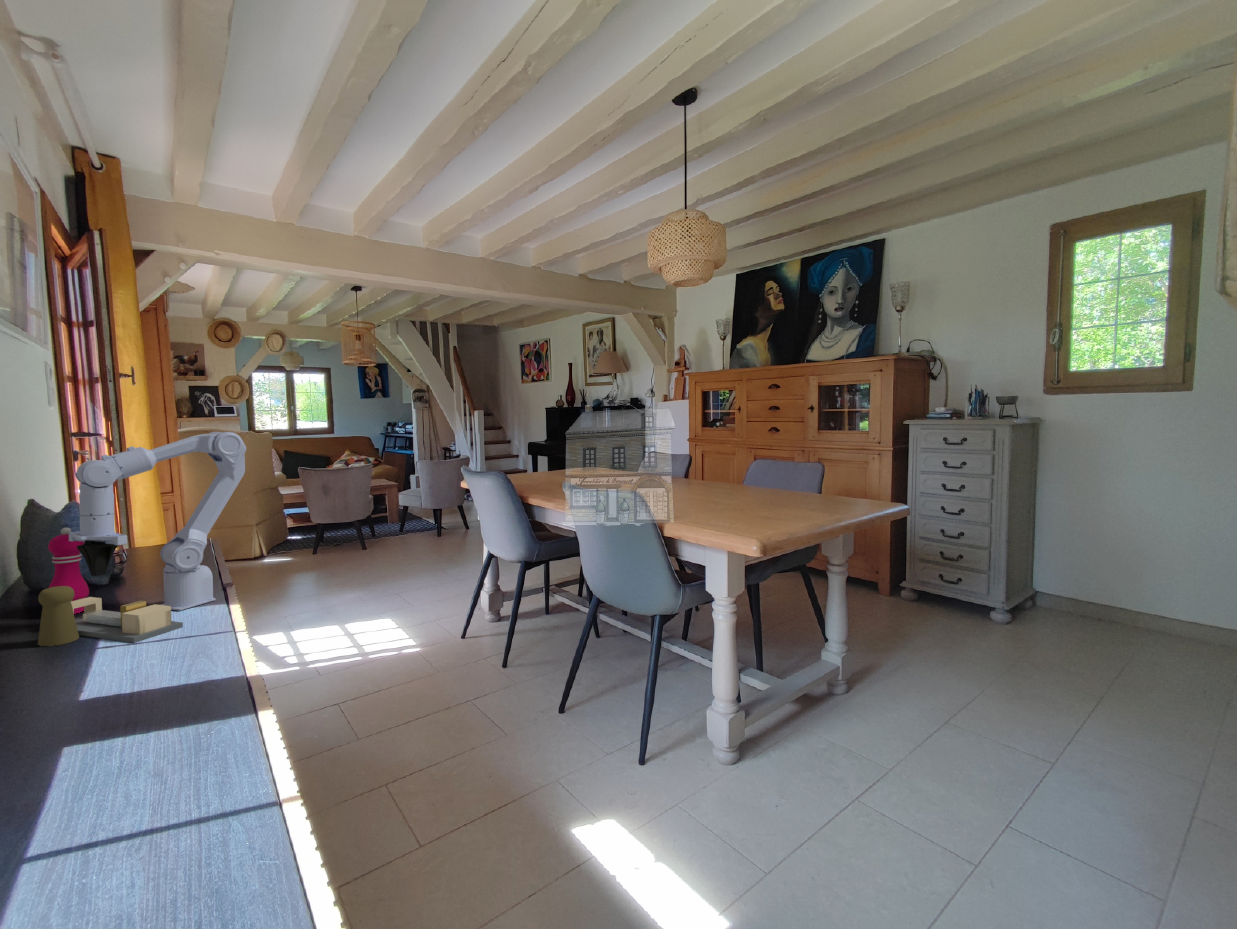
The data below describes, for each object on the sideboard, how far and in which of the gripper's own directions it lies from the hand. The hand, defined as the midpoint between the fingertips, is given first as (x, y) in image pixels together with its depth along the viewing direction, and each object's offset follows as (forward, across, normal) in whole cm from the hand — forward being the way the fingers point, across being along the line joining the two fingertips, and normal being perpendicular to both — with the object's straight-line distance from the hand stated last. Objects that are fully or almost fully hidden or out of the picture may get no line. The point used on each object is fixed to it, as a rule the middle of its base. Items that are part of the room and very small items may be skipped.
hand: (98, 574), depth 128 cm
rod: (+9, +10, -3) cm, 14 cm away
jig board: (+10, +9, -3) cm, 14 cm away
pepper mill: (+11, -13, +2) cm, 17 cm away
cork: (+11, +6, -11) cm, 17 cm away
